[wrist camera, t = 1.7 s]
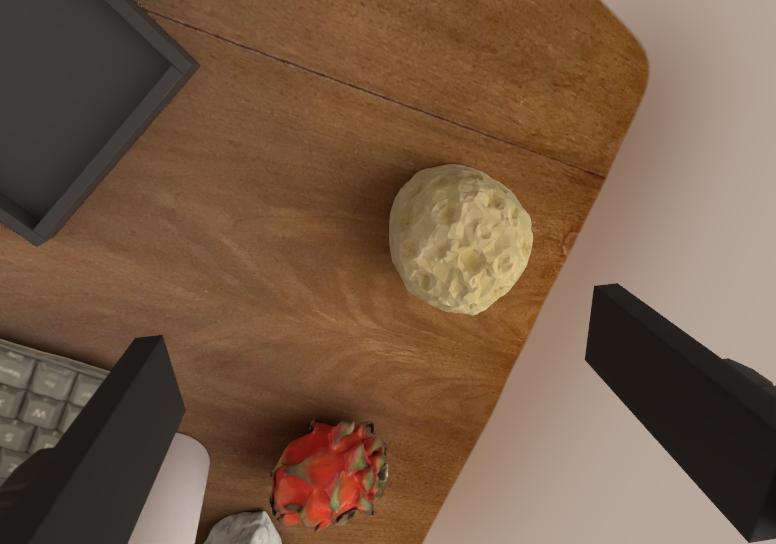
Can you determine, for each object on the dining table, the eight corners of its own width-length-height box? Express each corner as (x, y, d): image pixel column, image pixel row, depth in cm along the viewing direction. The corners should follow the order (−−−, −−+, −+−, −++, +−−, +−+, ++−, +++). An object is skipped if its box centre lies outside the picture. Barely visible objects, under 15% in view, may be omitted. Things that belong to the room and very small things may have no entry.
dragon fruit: (391, 397, 42) (291, 450, 45) (339, 388, 35) (225, 451, 38) (426, 495, 38) (313, 545, 41) (376, 507, 31) (244, 567, 34)
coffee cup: (250, 453, 40) (210, 646, 27) (185, 516, 42) (116, 726, 29) (154, 397, 37) (51, 586, 23) (88, 468, 39) (-43, 681, 25)
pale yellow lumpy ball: (383, 179, 36) (334, 272, 30) (480, 108, 29) (441, 212, 23) (462, 253, 40) (432, 350, 34) (565, 207, 33) (550, 319, 27)
